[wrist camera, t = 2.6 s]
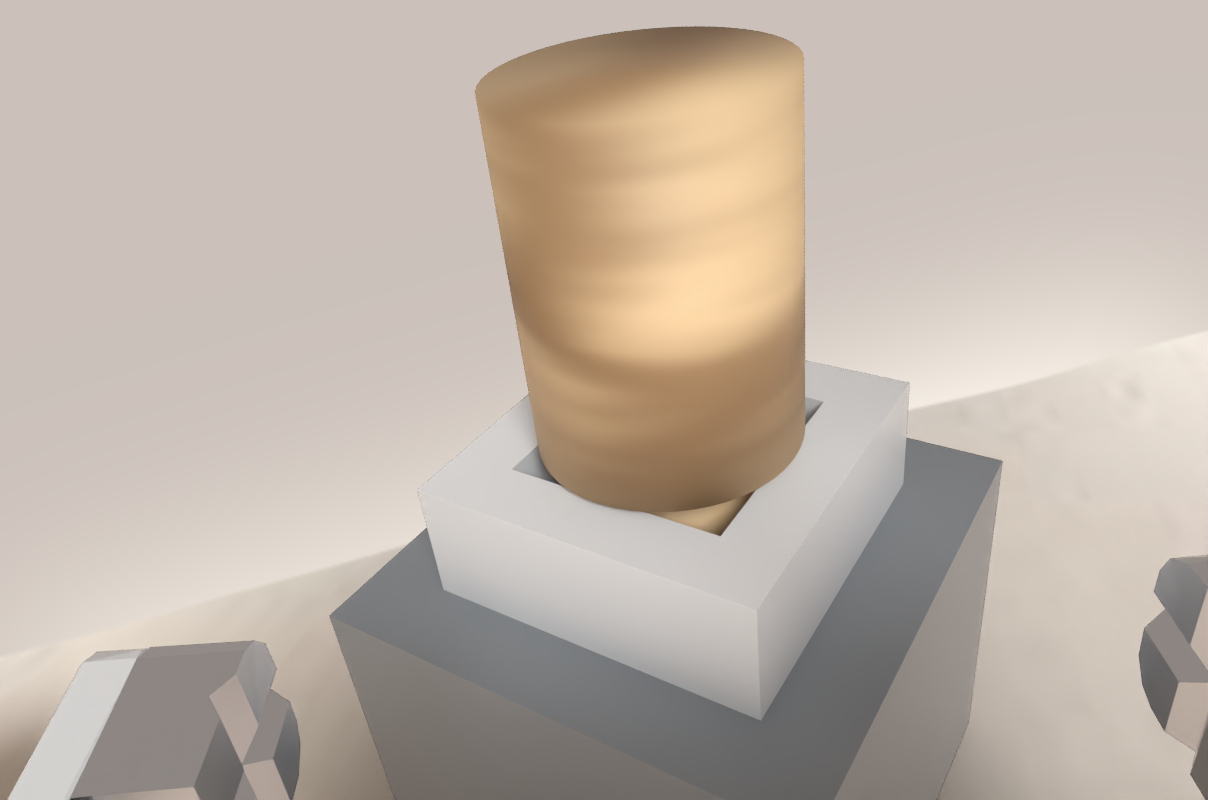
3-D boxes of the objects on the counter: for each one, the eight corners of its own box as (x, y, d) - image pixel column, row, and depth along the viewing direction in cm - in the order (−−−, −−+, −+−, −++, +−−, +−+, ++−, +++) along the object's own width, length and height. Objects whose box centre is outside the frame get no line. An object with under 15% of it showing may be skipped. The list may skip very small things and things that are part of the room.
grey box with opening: (968, 722, 31) (1016, 359, 24) (812, 1103, 23) (814, 727, 16) (635, 597, 37) (594, 279, 30) (418, 866, 29) (294, 517, 22)
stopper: (844, 497, 25) (855, 31, 19) (735, 661, 21) (704, 138, 15) (637, 439, 28) (591, 22, 22) (508, 574, 24) (406, 108, 18)
